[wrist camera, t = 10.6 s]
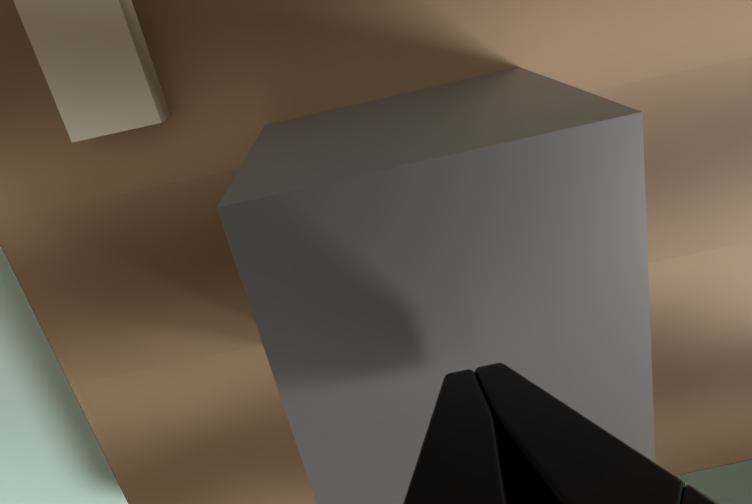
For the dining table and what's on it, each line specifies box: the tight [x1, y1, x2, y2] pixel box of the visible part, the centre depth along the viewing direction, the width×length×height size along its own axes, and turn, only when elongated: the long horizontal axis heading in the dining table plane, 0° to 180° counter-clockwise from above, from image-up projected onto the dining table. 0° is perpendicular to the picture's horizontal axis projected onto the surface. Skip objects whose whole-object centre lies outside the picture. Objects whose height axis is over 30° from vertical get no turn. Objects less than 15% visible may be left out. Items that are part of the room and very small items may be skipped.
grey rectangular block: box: [217, 67, 655, 504], centre depth 13 cm, size 6×6×8 cm
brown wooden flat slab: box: [0, 0, 752, 504], centre depth 16 cm, size 20×20×4 cm
